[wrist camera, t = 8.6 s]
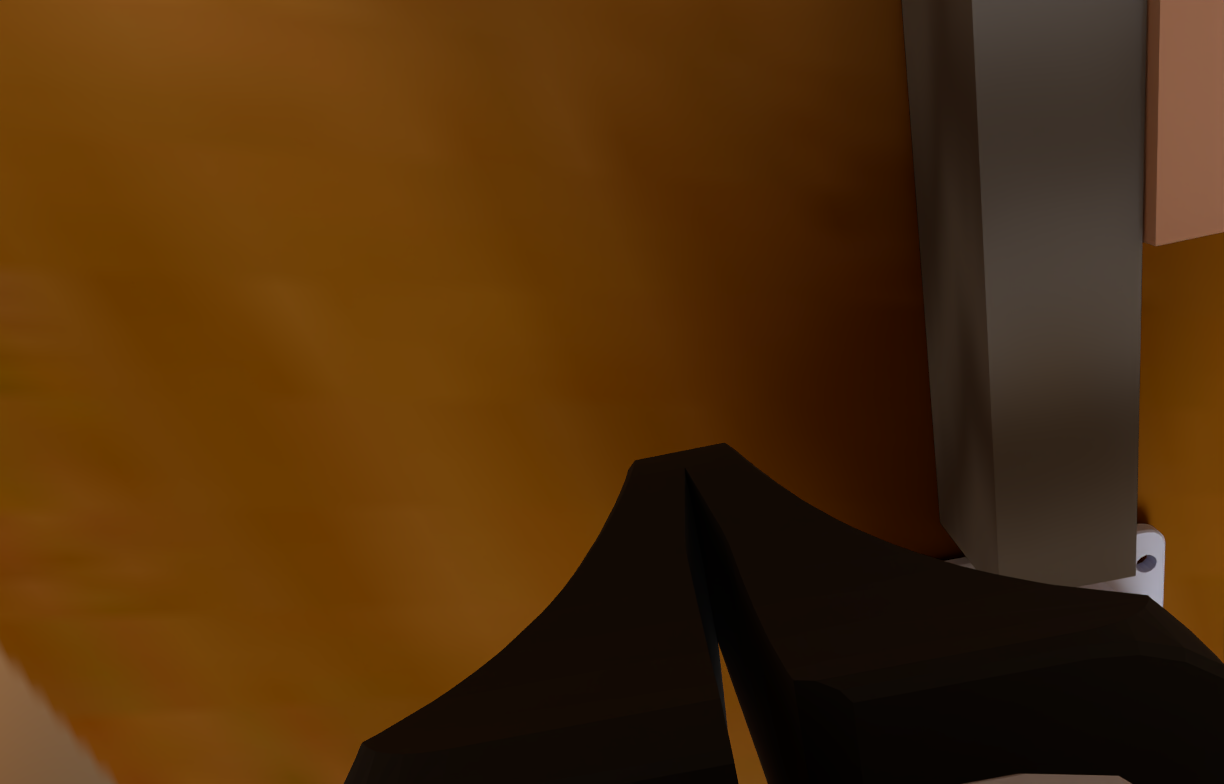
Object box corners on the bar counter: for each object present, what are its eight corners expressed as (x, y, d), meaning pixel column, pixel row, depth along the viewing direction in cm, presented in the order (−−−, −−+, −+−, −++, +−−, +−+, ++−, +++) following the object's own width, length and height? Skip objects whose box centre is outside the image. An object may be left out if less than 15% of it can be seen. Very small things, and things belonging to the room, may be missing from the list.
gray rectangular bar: (1056, 500, 23) (1135, 576, 20) (939, 522, 23) (1000, 601, 20) (1037, -487, 16) (1160, -629, 12) (869, -448, 16) (944, -576, 12)
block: (1270, 162, 20) (1428, 188, 16) (1049, 209, 20) (1155, 246, 17) (1285, -81, 18) (1467, -114, 15) (1043, -28, 18) (1161, -47, 15)
